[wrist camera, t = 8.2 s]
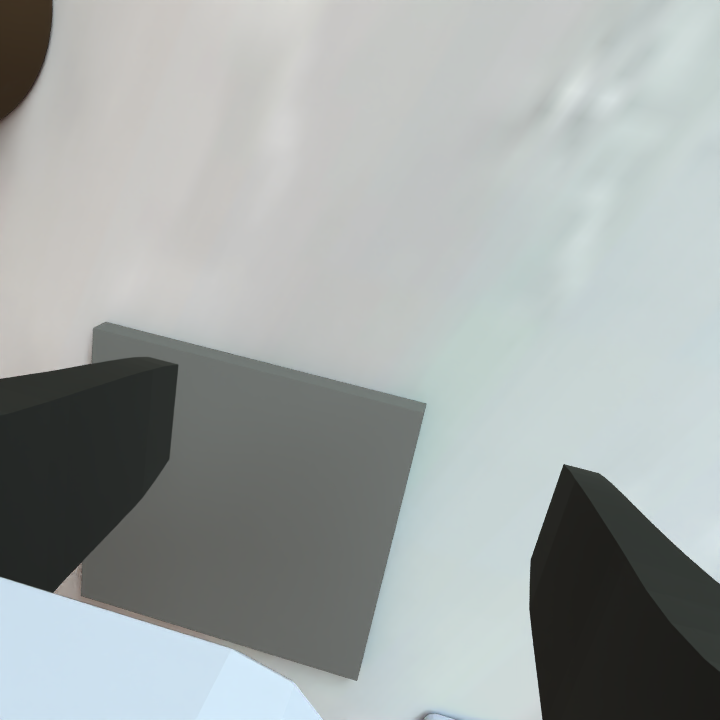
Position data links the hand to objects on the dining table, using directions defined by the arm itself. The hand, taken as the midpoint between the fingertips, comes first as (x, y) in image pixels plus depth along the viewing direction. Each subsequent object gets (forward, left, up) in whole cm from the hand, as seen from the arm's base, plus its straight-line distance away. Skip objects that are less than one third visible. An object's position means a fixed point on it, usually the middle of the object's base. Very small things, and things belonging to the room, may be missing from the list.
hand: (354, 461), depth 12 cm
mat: (-9, +5, -10) cm, 15 cm away
